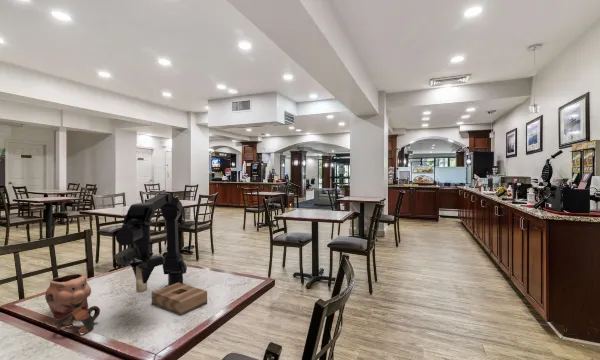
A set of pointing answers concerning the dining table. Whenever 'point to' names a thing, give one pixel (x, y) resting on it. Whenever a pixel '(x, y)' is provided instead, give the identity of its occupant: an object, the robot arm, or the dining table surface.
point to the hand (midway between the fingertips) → (141, 282)
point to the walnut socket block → (179, 298)
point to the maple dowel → (140, 281)
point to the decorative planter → (67, 294)
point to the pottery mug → (80, 319)
